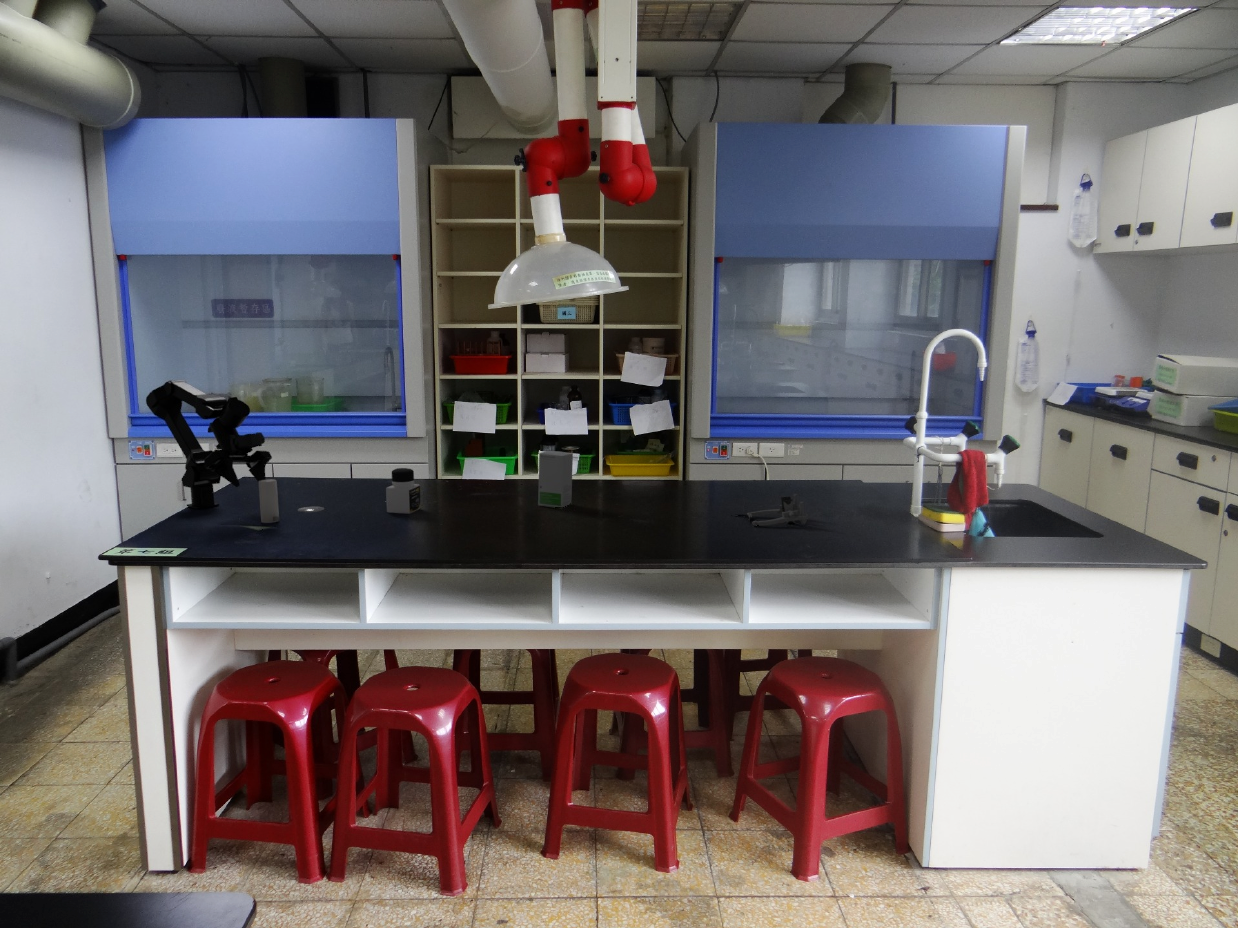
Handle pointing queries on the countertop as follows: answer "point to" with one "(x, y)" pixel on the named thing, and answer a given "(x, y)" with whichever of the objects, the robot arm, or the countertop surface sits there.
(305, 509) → the grey shallow disc
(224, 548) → the countertop surface
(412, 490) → the medicine bottle
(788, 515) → the bike brake
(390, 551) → the countertop surface
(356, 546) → the countertop surface
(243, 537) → the countertop surface
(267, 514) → the grey rounded post
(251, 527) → the mat
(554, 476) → the skincare box
